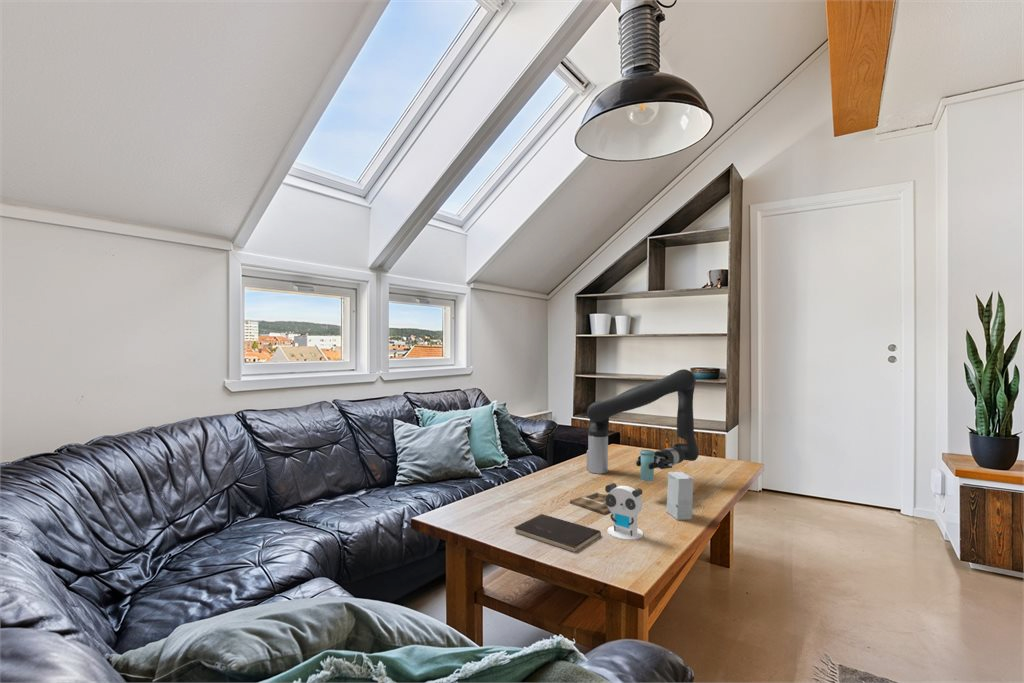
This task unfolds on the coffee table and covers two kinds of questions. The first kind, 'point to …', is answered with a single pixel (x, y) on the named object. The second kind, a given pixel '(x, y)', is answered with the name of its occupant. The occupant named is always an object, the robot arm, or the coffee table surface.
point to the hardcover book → (557, 532)
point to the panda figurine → (624, 511)
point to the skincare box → (679, 495)
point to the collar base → (593, 502)
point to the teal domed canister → (647, 465)
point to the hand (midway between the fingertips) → (643, 465)
